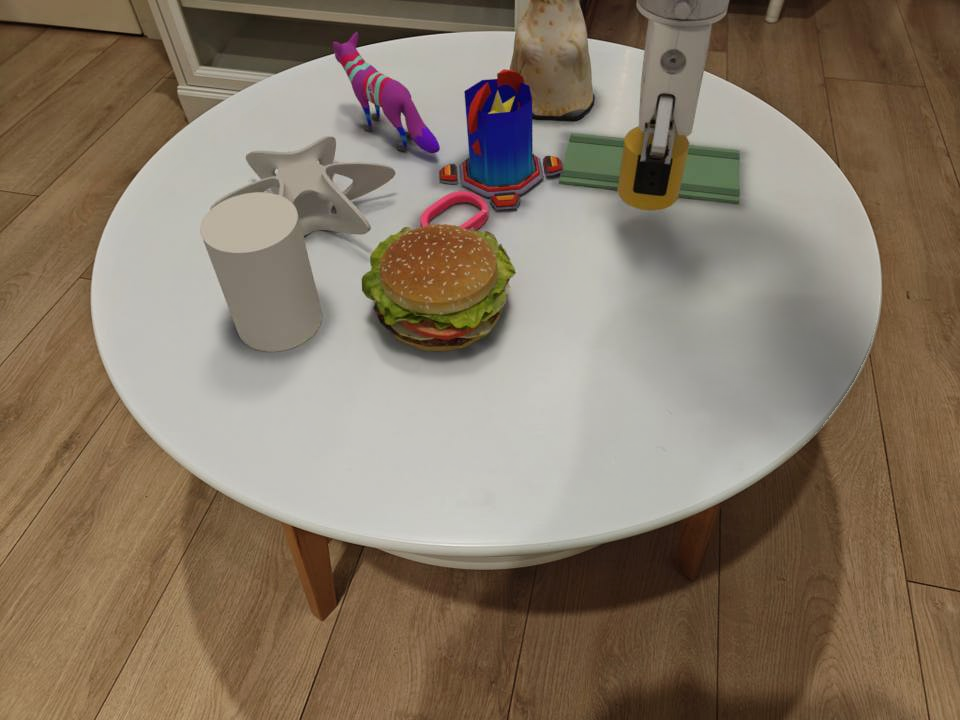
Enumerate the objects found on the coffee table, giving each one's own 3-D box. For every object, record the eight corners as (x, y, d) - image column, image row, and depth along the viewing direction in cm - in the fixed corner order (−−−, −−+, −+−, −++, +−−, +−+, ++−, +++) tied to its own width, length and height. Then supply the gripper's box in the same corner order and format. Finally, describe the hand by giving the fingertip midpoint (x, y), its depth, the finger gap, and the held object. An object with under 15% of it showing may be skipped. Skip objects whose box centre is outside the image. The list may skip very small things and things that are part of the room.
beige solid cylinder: (290, 279, 78) (262, 180, 68) (339, 319, 74) (316, 220, 65) (221, 320, 74) (182, 222, 65) (268, 365, 70) (234, 266, 61)
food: (533, 276, 77) (535, 212, 71) (483, 376, 69) (482, 313, 63) (409, 246, 81) (401, 183, 75) (347, 338, 72) (333, 275, 66)
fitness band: (448, 251, 80) (447, 240, 79) (409, 228, 83) (408, 217, 81) (499, 214, 84) (499, 203, 83) (460, 193, 86) (460, 182, 85)
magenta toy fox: (355, 102, 100) (343, 24, 92) (451, 156, 91) (446, 75, 84) (333, 114, 98) (318, 35, 90) (428, 170, 90) (421, 88, 82)
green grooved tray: (738, 153, 91) (739, 149, 90) (738, 203, 84) (739, 200, 84) (571, 135, 94) (571, 131, 93) (558, 183, 87) (559, 179, 87)
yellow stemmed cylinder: (679, 178, 80) (693, 112, 74) (676, 214, 76) (691, 148, 70) (620, 171, 81) (629, 106, 75) (614, 206, 77) (623, 141, 71)
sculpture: (309, 297, 76) (296, 248, 71) (190, 217, 85) (172, 168, 80) (430, 212, 84) (426, 163, 80) (311, 147, 93) (301, 100, 88)
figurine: (501, 118, 97) (501, -50, 82) (507, 76, 103) (508, -86, 88) (594, 122, 96) (612, -47, 81) (594, 79, 102) (610, -84, 87)
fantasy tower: (507, 215, 83) (503, 115, 74) (429, 177, 89) (417, 80, 80) (572, 165, 89) (576, 67, 80) (495, 132, 94) (491, 37, 85)
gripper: (730, 42, 57) (685, 231, 71) (731, -49, 68) (693, 129, 82) (629, 34, 58) (604, 221, 72) (646, -55, 69) (622, 122, 83)
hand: (651, 170), depth 77 cm, fingers closed on yellow stemmed cylinder, 6 cm apart
